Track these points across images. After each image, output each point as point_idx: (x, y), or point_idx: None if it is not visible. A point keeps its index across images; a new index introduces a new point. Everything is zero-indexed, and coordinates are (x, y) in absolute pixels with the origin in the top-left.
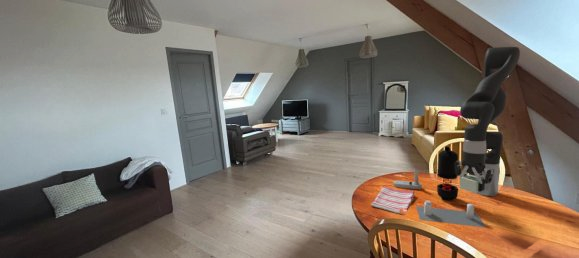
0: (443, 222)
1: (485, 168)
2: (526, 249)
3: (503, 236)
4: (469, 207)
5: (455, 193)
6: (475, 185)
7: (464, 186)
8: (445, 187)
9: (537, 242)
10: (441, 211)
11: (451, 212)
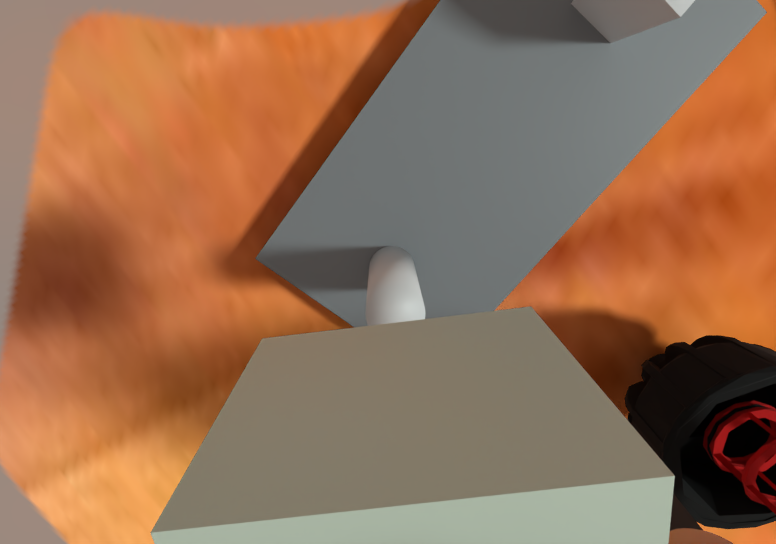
0: (438, 3)
1: None
2: (45, 273)
3: (183, 286)
4: (386, 281)
5: (647, 433)
6: (205, 444)
7: (456, 348)
8: (769, 427)
9: (89, 391)
10: (567, 156)
11: (514, 218)
